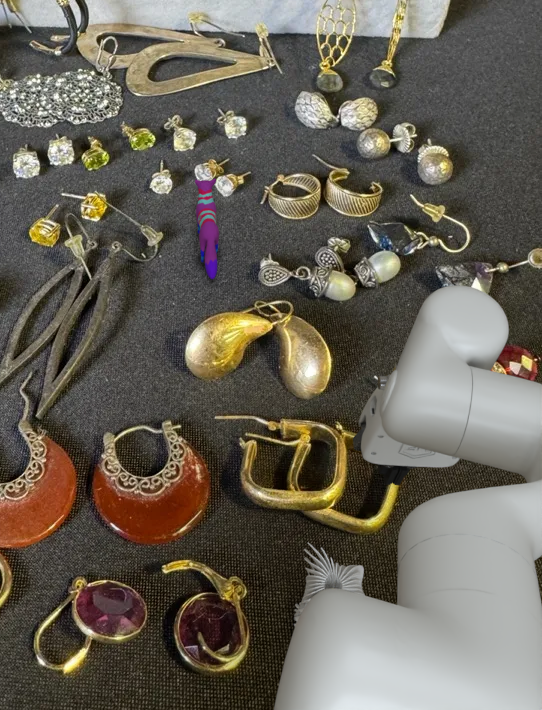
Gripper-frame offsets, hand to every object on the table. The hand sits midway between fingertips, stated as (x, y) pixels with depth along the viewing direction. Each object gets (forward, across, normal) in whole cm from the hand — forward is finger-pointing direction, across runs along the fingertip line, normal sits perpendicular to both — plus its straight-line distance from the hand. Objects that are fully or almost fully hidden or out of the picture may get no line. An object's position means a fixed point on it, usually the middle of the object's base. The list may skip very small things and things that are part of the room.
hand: (390, 472), depth 91 cm
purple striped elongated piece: (+23, -20, +53) cm, 61 cm away
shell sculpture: (+24, -6, -10) cm, 26 cm away
